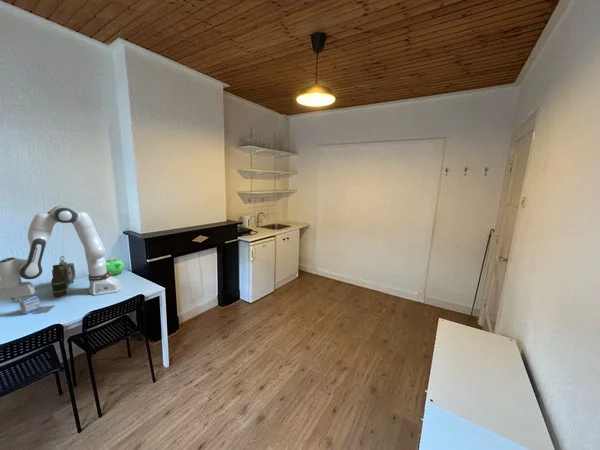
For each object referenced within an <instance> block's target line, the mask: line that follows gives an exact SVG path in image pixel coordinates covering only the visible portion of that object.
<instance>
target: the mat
mask: <svg viewBox="0 0 600 450" xmlns="http://www.w3.org/2000/svg"><path fill="white" fill-rule="evenodd" d="M40 307H41V308H40V309H38V310H35V311H33V312H31V314H32V315H35V314H37V315H38V314H46V313H48V312H49V311H51V310H52V309H53V308H54V307H56V305H47V306H46V305H45V306H40Z"/></svg>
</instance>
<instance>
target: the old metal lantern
mask: <svg viewBox="0 0 600 450" xmlns="http://www.w3.org/2000/svg"><path fill="white" fill-rule="evenodd" d="M62 258H63V259H62ZM58 265H59V269H60V273H61V275H62V276H64V278H65V281H66V287H67V289H69V286H68V284H71V283H73V284H74V283H75V281H74V280H75V278H76V268H75V265H74V263H73V262H69V263H68V262H67V261H65V256H64V255H63V256H60V257H59V263H58ZM51 271H52V272H51V274H52V277H53V276H54V272H53V269H52V270H51Z"/></svg>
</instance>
